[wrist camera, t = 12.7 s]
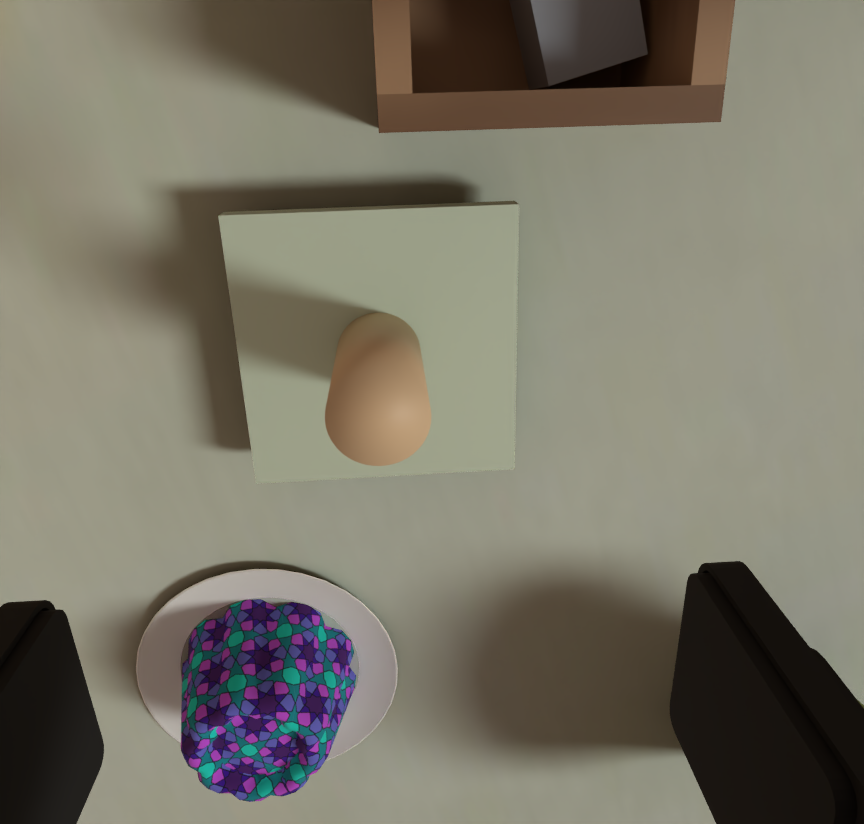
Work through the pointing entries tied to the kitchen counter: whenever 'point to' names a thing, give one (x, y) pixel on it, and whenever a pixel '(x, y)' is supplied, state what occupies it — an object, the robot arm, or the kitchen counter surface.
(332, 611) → the pudding
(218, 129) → the kitchen counter surface
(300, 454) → the lid
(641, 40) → the slate block
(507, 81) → the walnut box
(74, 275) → the kitchen counter surface
